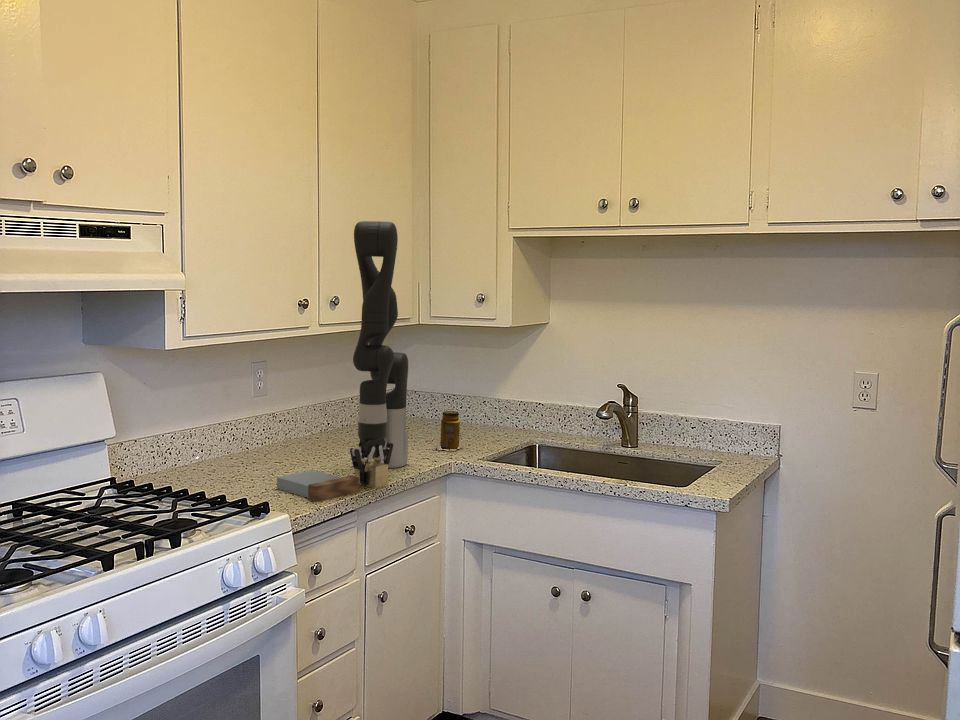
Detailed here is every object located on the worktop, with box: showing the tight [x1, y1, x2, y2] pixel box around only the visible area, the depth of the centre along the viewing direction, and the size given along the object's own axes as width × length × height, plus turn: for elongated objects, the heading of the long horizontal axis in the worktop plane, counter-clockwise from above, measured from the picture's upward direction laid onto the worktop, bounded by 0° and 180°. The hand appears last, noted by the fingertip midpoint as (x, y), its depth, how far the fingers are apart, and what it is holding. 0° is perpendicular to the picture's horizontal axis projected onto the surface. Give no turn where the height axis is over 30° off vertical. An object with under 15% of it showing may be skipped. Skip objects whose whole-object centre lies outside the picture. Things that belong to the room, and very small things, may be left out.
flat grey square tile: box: [276, 469, 342, 499], centre depth 232 cm, size 12×14×3 cm
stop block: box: [307, 475, 360, 503], centre depth 226 cm, size 14×3×4 cm, turn 139°
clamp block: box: [354, 460, 389, 489], centre depth 239 cm, size 4×8×6 cm, turn 50°
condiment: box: [432, 410, 461, 451], centre depth 289 cm, size 7×8×12 cm
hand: (371, 482), depth 240 cm, fingers closed on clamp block, 4 cm apart
